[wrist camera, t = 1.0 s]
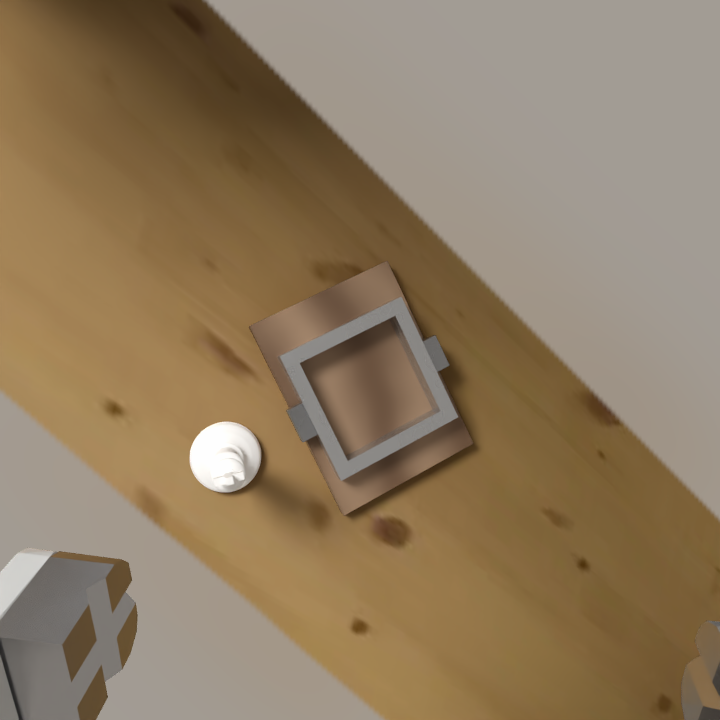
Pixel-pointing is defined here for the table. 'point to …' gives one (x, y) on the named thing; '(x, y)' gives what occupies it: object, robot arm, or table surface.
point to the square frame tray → (425, 364)
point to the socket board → (359, 384)
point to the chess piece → (225, 457)
